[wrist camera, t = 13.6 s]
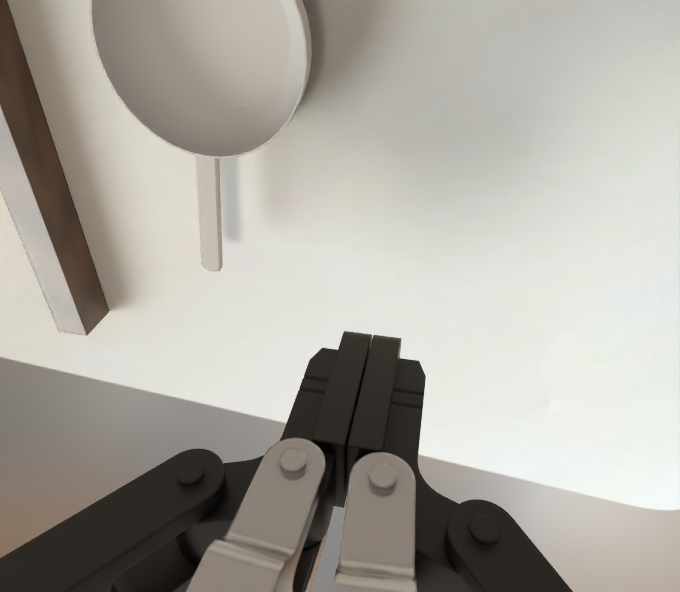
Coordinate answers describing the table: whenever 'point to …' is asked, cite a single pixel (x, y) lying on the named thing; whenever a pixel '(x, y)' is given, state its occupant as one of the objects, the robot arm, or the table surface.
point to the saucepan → (206, 80)
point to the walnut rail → (42, 196)
